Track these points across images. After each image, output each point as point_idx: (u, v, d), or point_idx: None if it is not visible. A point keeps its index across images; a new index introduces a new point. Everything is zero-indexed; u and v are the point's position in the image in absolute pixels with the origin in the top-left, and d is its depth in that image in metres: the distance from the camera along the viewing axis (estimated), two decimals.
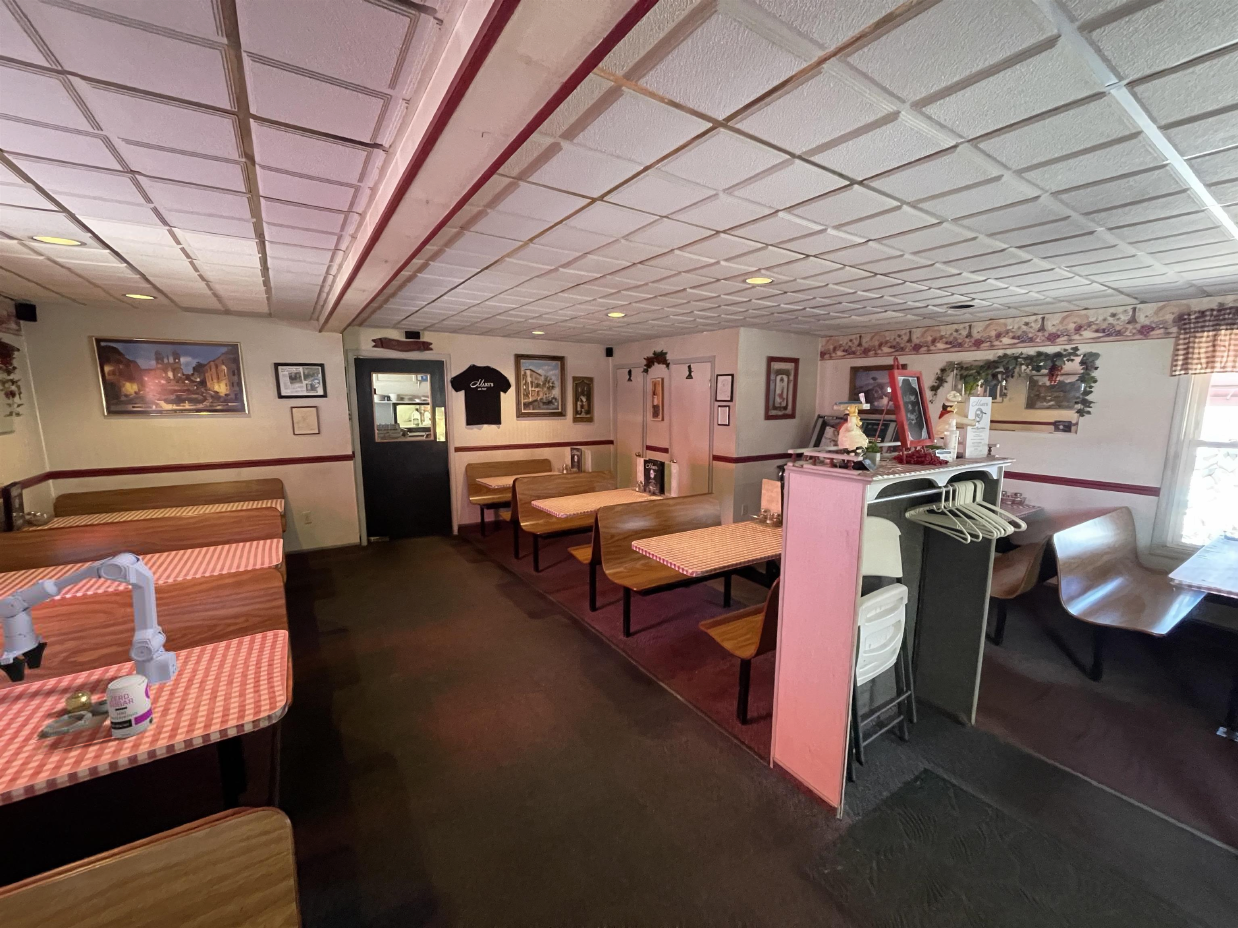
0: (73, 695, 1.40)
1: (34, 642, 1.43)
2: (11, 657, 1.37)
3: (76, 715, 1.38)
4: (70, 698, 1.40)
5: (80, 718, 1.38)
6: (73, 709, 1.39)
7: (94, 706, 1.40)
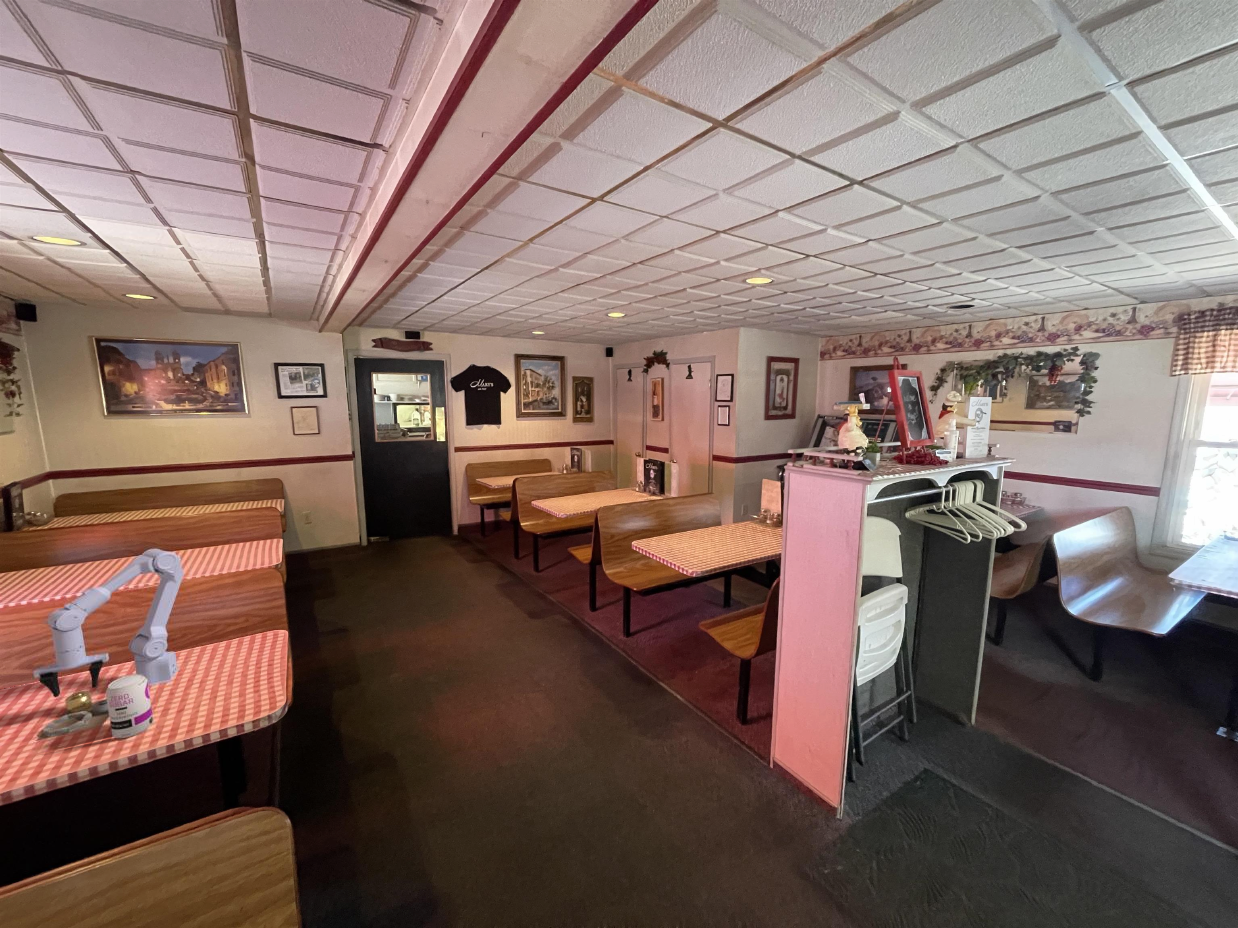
0: (73, 695, 1.40)
1: (68, 664, 1.37)
2: (36, 672, 1.35)
3: (76, 715, 1.38)
4: (70, 698, 1.40)
5: (80, 718, 1.38)
6: (73, 709, 1.39)
7: (94, 706, 1.40)
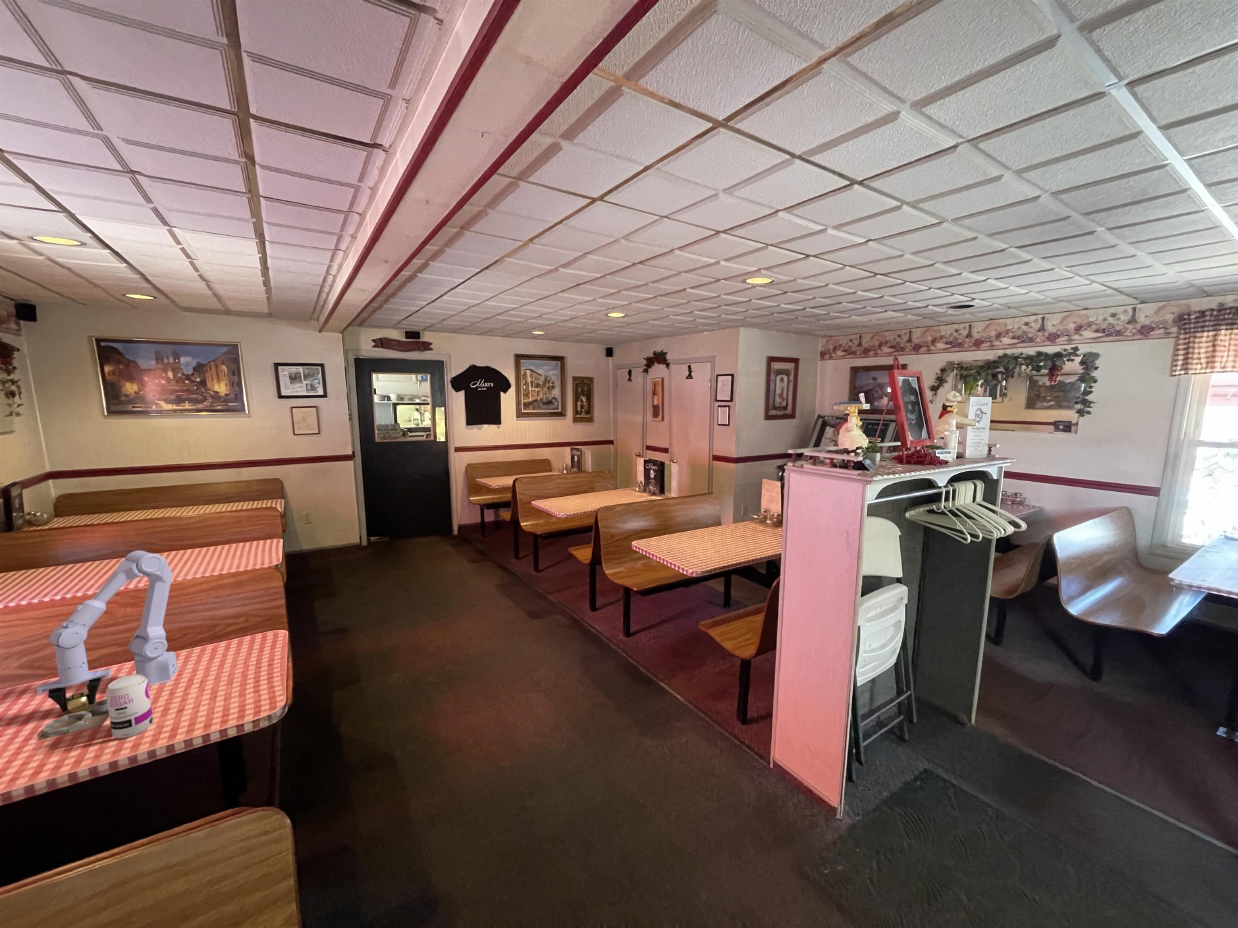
0: (73, 695, 1.40)
1: (70, 680, 1.38)
2: (39, 689, 1.36)
3: (76, 715, 1.38)
4: (70, 698, 1.40)
5: (80, 718, 1.38)
6: (73, 709, 1.39)
7: (94, 706, 1.40)
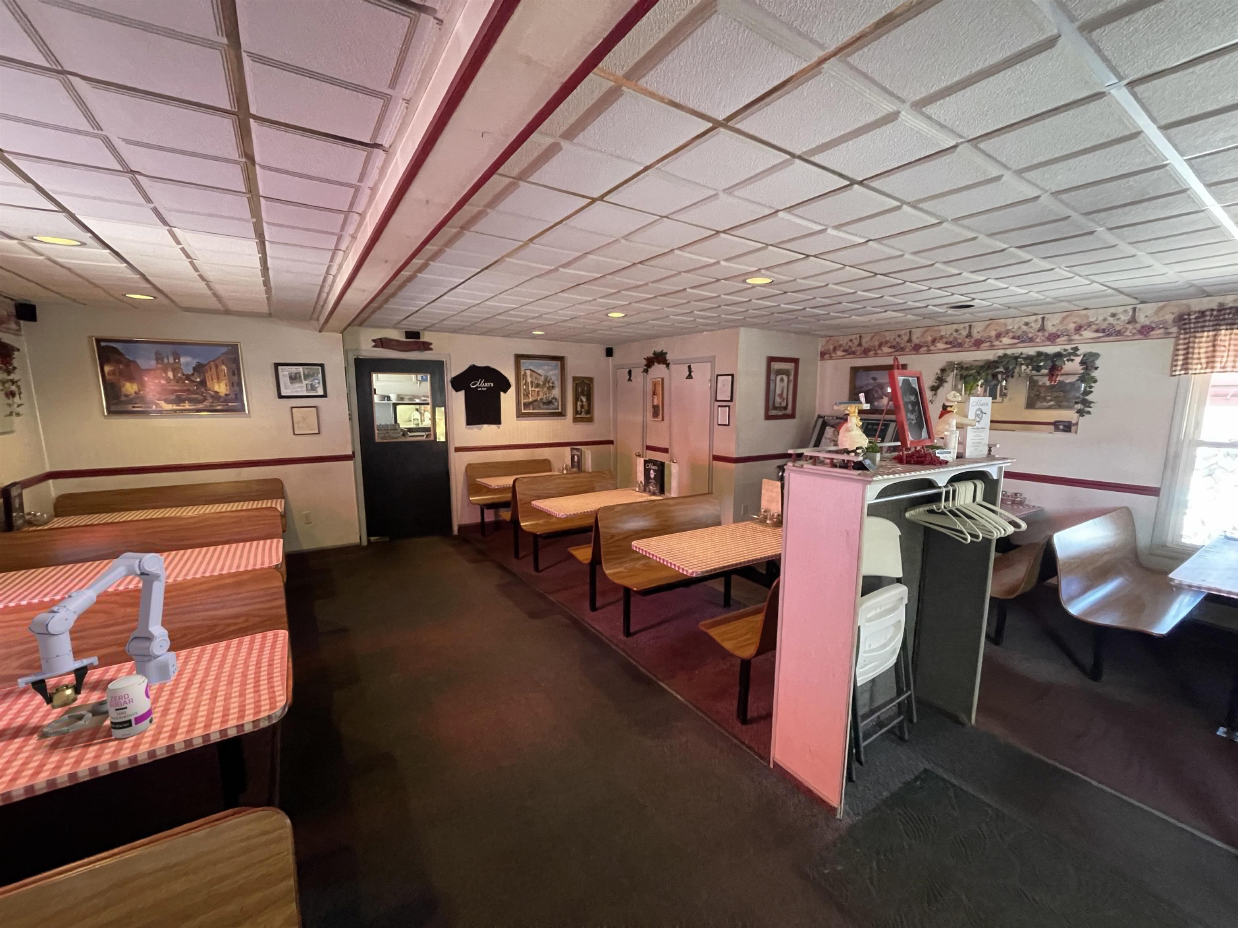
0: (57, 688, 1.33)
1: (59, 669, 1.31)
2: (21, 682, 1.27)
3: (76, 715, 1.38)
4: (54, 691, 1.32)
5: (80, 718, 1.38)
6: (60, 701, 1.32)
7: (94, 706, 1.40)
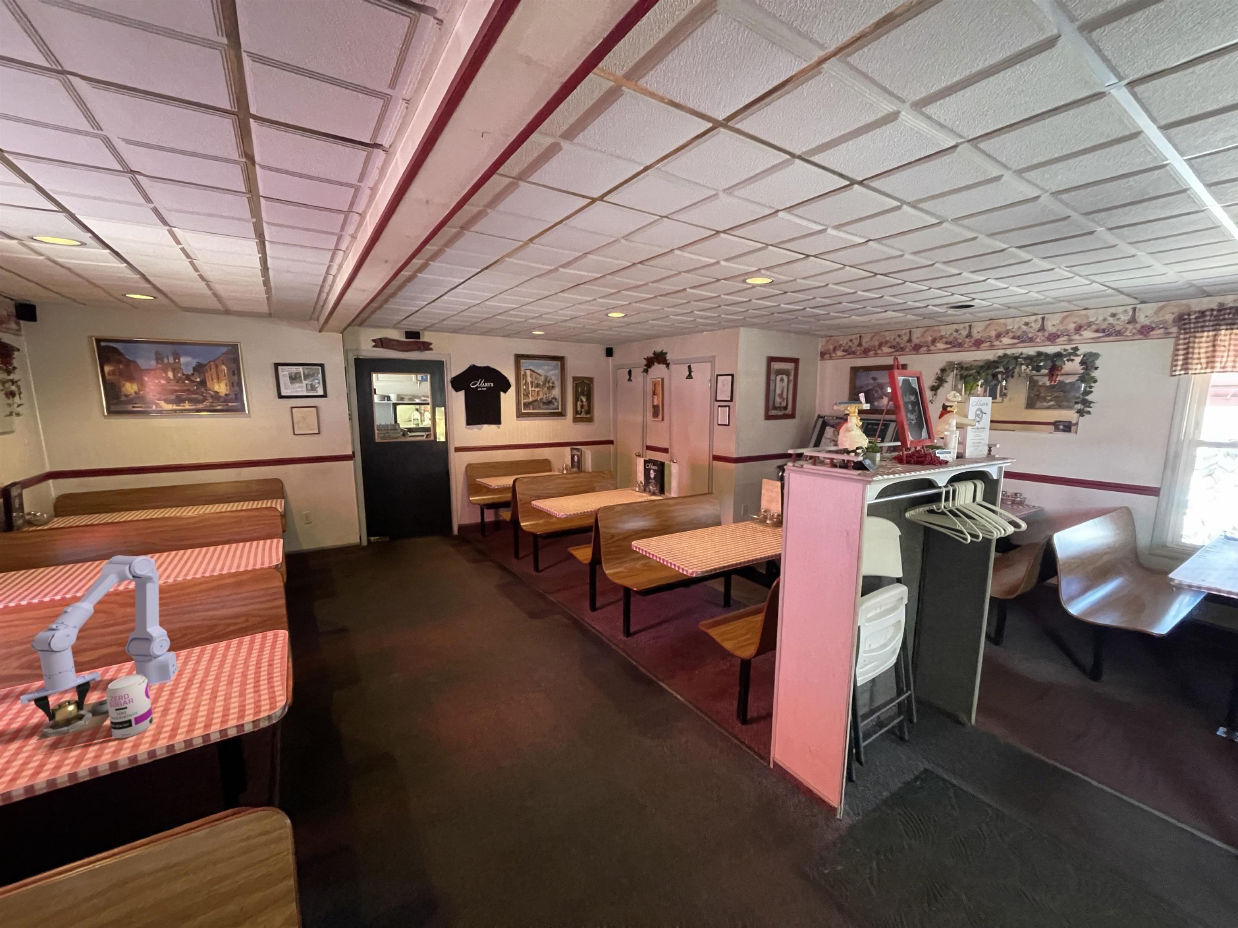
0: (60, 704, 1.33)
1: (61, 686, 1.31)
2: (24, 699, 1.27)
3: None
4: (56, 708, 1.33)
5: (80, 718, 1.38)
6: (63, 718, 1.32)
7: (94, 706, 1.40)
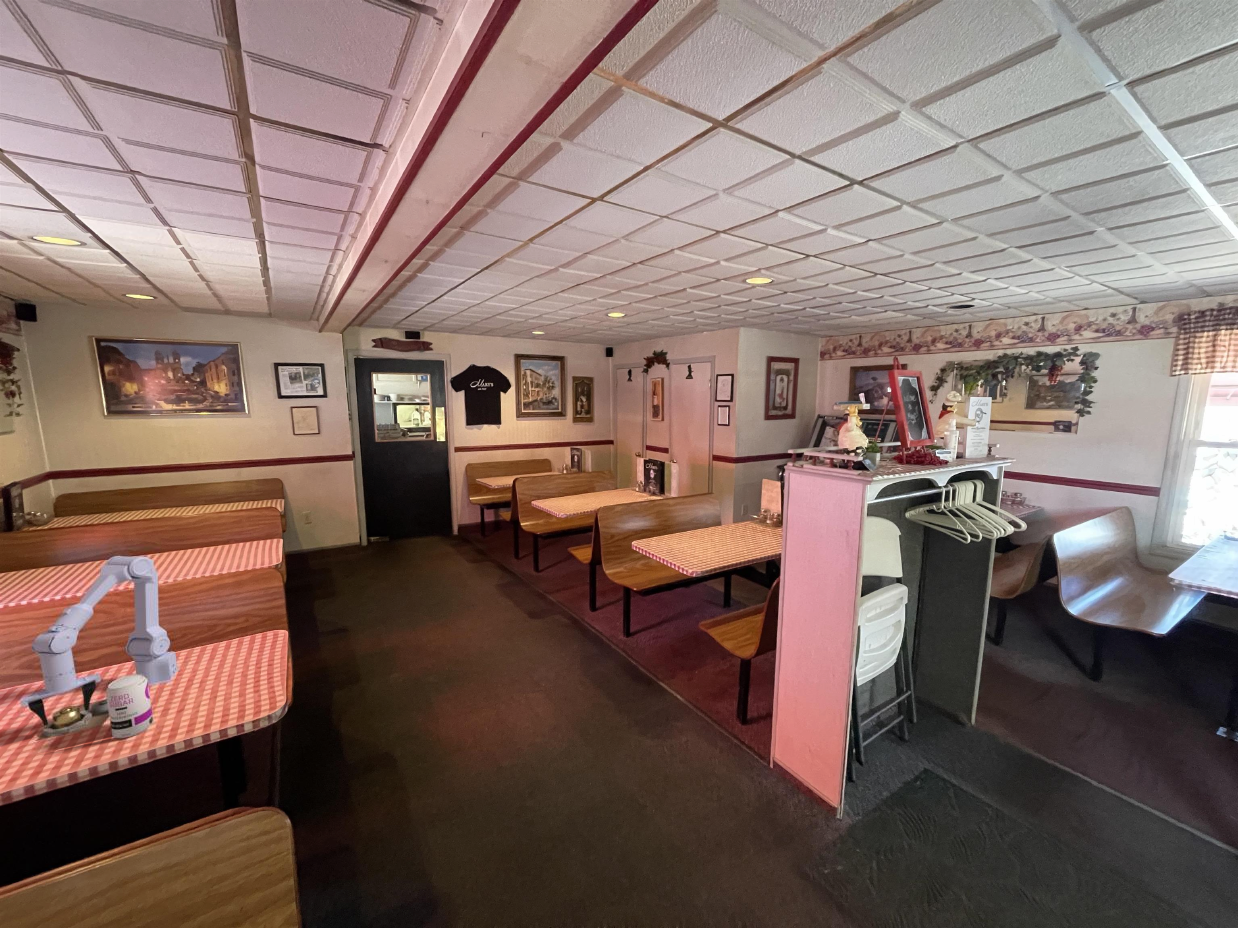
0: (61, 710, 1.33)
1: (62, 688, 1.31)
2: (24, 701, 1.27)
3: None
4: (58, 714, 1.33)
5: None
6: (64, 724, 1.33)
7: (94, 706, 1.40)
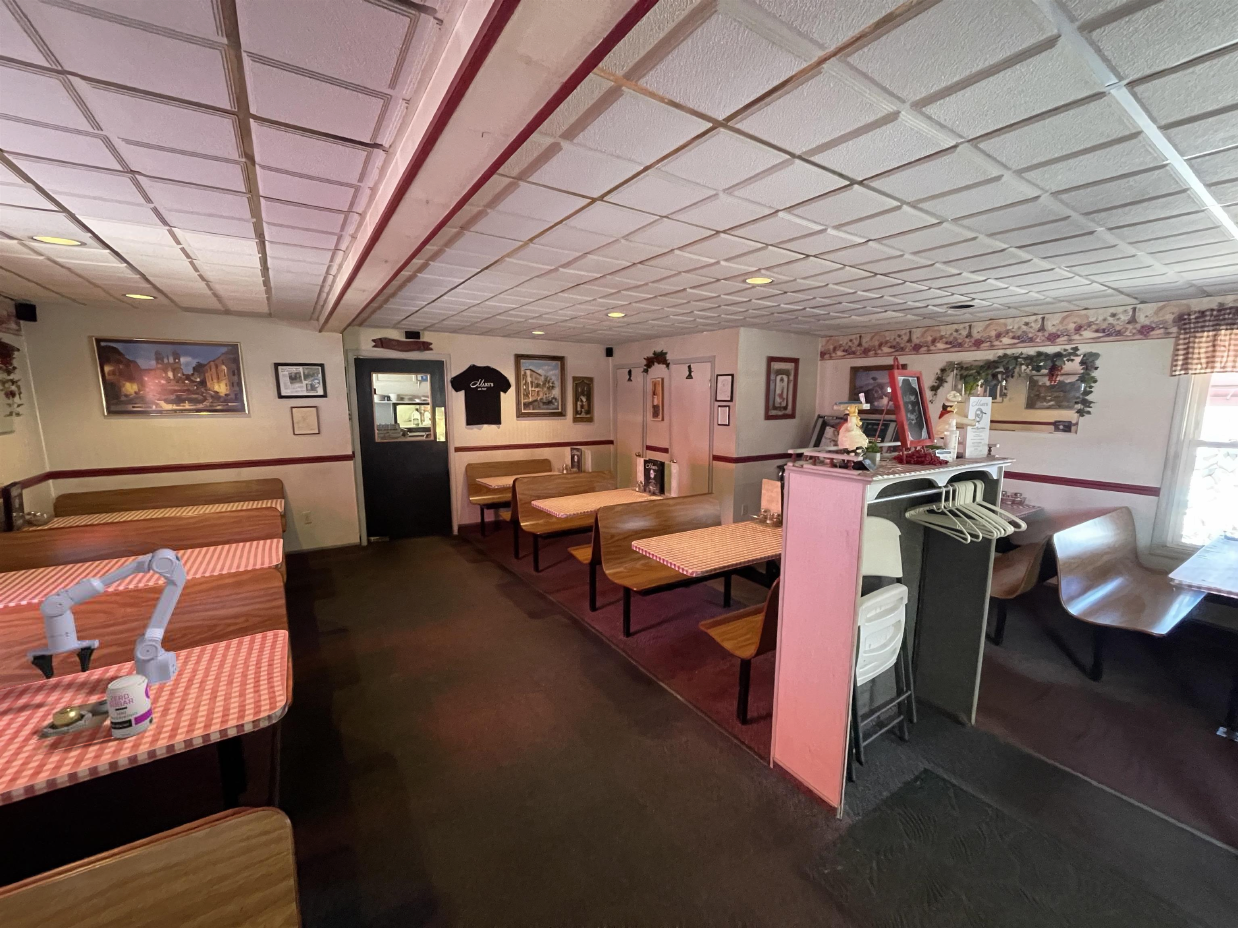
0: (61, 710, 1.33)
1: (56, 648, 1.40)
2: (29, 654, 1.39)
3: None
4: (58, 714, 1.33)
5: None
6: (64, 724, 1.33)
7: (94, 706, 1.40)
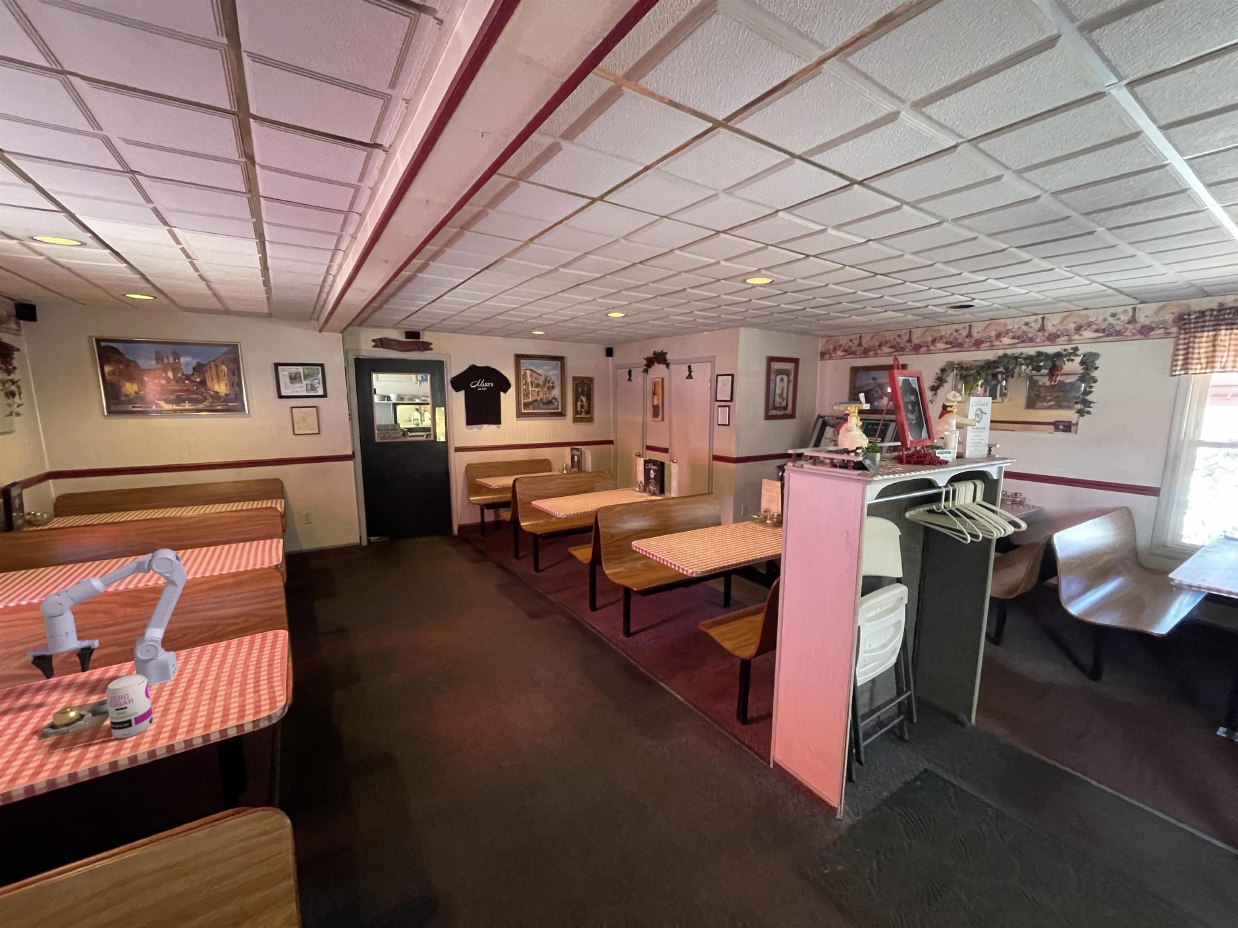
0: (61, 710, 1.33)
1: (56, 648, 1.40)
2: (29, 654, 1.39)
3: None
4: (58, 714, 1.33)
5: None
6: (64, 724, 1.33)
7: (94, 706, 1.40)
